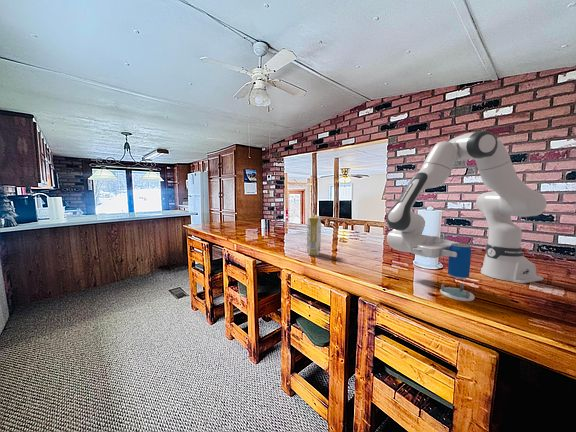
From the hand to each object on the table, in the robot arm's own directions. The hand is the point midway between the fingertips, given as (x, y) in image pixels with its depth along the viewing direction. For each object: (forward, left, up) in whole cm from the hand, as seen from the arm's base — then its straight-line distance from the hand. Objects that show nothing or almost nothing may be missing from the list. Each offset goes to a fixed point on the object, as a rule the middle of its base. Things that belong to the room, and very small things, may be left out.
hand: (462, 253), depth 86 cm
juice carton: (+41, -63, -16) cm, 77 cm away
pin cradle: (0, -1, -16) cm, 16 cm away
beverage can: (0, -1, -9) cm, 9 cm away
